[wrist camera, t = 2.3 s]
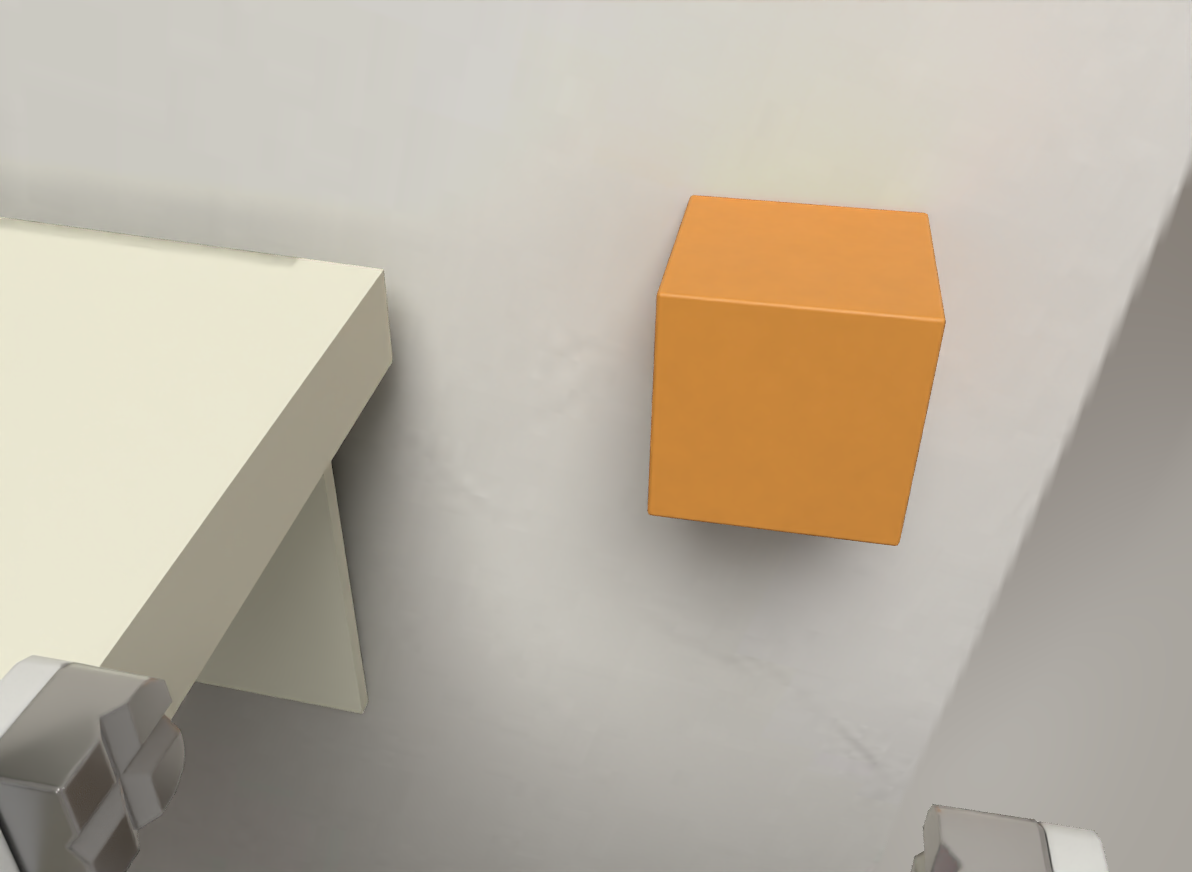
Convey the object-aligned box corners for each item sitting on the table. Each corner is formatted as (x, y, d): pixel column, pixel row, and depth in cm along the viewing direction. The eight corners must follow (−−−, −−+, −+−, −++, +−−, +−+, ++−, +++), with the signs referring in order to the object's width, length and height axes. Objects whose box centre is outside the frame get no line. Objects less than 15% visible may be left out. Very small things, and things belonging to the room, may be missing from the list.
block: (690, 193, 23) (655, 292, 19) (928, 212, 22) (946, 319, 18) (678, 392, 26) (646, 516, 22) (890, 415, 25) (898, 548, 21)
